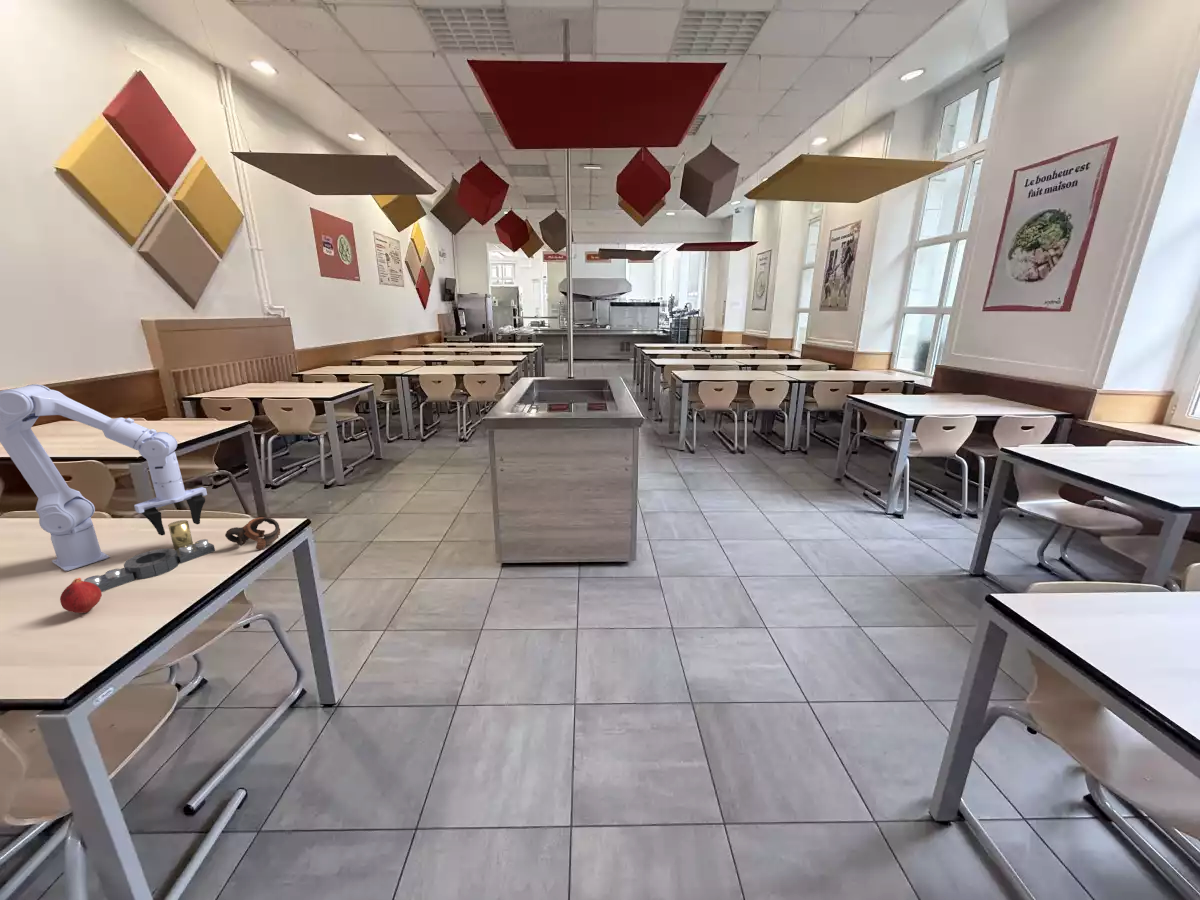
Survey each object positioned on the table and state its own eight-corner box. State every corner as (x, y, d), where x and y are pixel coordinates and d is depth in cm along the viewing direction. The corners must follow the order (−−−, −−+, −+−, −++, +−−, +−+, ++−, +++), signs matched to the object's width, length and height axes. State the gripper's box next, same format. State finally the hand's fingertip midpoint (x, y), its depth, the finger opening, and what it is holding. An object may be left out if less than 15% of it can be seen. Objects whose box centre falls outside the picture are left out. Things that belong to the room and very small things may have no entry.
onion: (79, 622, 99) (68, 588, 96) (58, 619, 100) (46, 584, 97) (112, 606, 104) (102, 573, 102) (91, 603, 105) (81, 570, 103)
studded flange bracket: (78, 586, 111) (74, 575, 110) (201, 544, 131) (199, 534, 131) (95, 598, 107) (91, 586, 106) (219, 553, 127) (217, 542, 126)
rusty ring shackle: (275, 533, 140) (280, 513, 136) (278, 559, 134) (284, 538, 130) (222, 535, 131) (227, 513, 128) (223, 562, 126) (228, 540, 122)
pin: (171, 548, 129) (165, 524, 127) (189, 542, 133) (183, 519, 131) (178, 552, 127) (172, 527, 125) (196, 546, 131) (190, 522, 129)
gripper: (138, 491, 117) (152, 543, 121) (208, 474, 129) (218, 521, 133) (125, 486, 120) (139, 536, 124) (194, 470, 132) (205, 516, 136)
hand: (179, 528), depth 128 cm, fingers open, 7 cm apart
